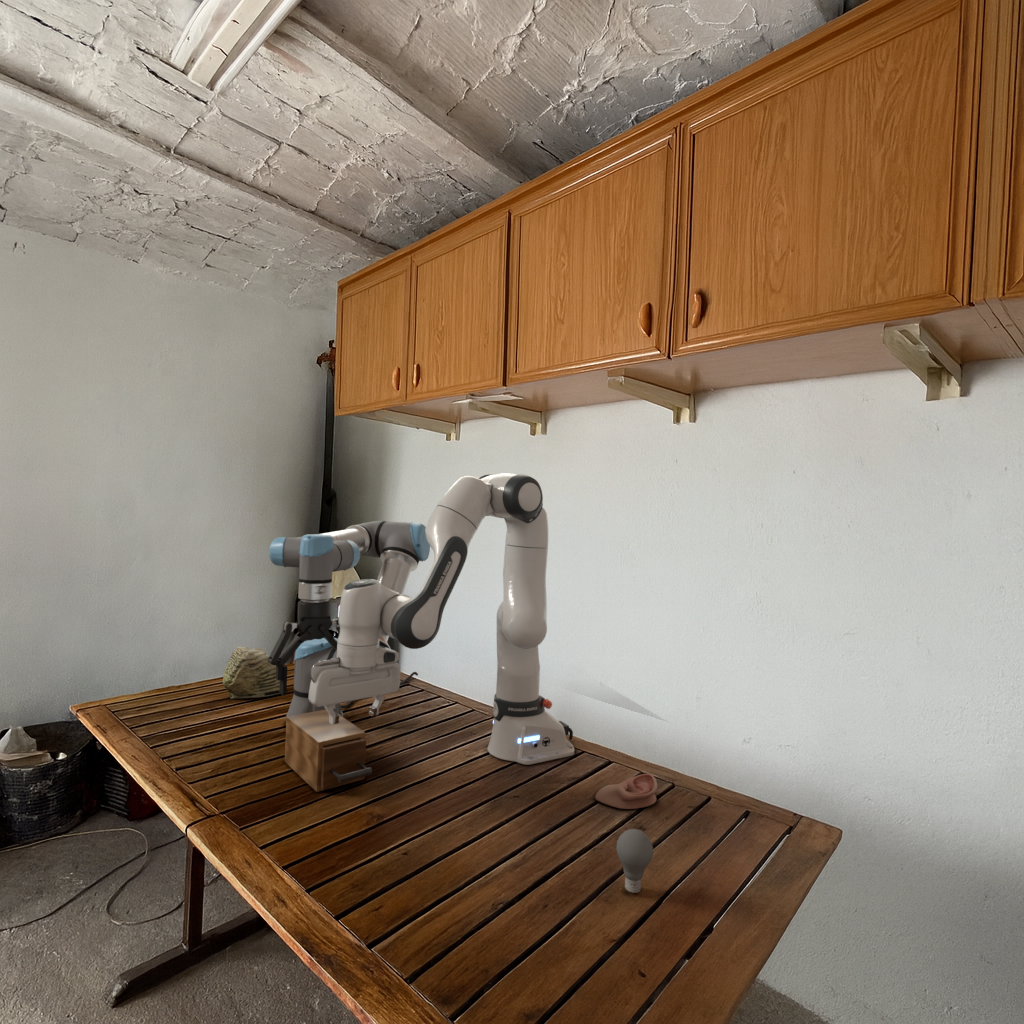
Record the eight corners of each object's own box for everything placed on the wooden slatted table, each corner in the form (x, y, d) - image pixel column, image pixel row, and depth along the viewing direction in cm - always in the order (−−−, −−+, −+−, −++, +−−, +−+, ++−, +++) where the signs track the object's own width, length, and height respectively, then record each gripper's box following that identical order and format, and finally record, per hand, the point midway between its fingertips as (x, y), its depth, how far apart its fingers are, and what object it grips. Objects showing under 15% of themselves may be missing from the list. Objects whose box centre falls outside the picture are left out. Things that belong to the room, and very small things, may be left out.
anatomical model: (594, 786, 135) (598, 765, 146) (593, 805, 135) (597, 782, 146) (658, 795, 132) (657, 772, 143) (657, 814, 132) (656, 790, 143)
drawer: (376, 788, 137) (378, 748, 136) (334, 800, 130) (335, 758, 130) (331, 752, 154) (333, 716, 154) (292, 761, 148) (293, 724, 148)
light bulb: (610, 879, 108) (613, 822, 108) (644, 879, 109) (647, 822, 109) (619, 902, 102) (622, 840, 102) (655, 901, 103) (658, 840, 103)
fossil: (218, 695, 195) (220, 647, 195) (278, 685, 208) (279, 640, 207) (228, 703, 189) (230, 653, 188) (289, 692, 201) (290, 645, 201)
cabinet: (363, 779, 143) (365, 732, 142) (316, 792, 136) (318, 742, 135) (328, 751, 157) (330, 708, 157) (284, 761, 150) (286, 716, 150)
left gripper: (265, 606, 139) (262, 702, 139) (370, 598, 154) (367, 685, 155) (255, 600, 145) (252, 692, 145) (357, 594, 160) (354, 677, 161)
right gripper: (319, 665, 127) (315, 733, 127) (405, 652, 141) (402, 714, 141) (305, 658, 131) (301, 724, 131) (390, 646, 145) (386, 706, 145)
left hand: (311, 689), depth 150 cm, fingers open, 13 cm apart
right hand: (354, 719), depth 136 cm, fingers open, 8 cm apart
